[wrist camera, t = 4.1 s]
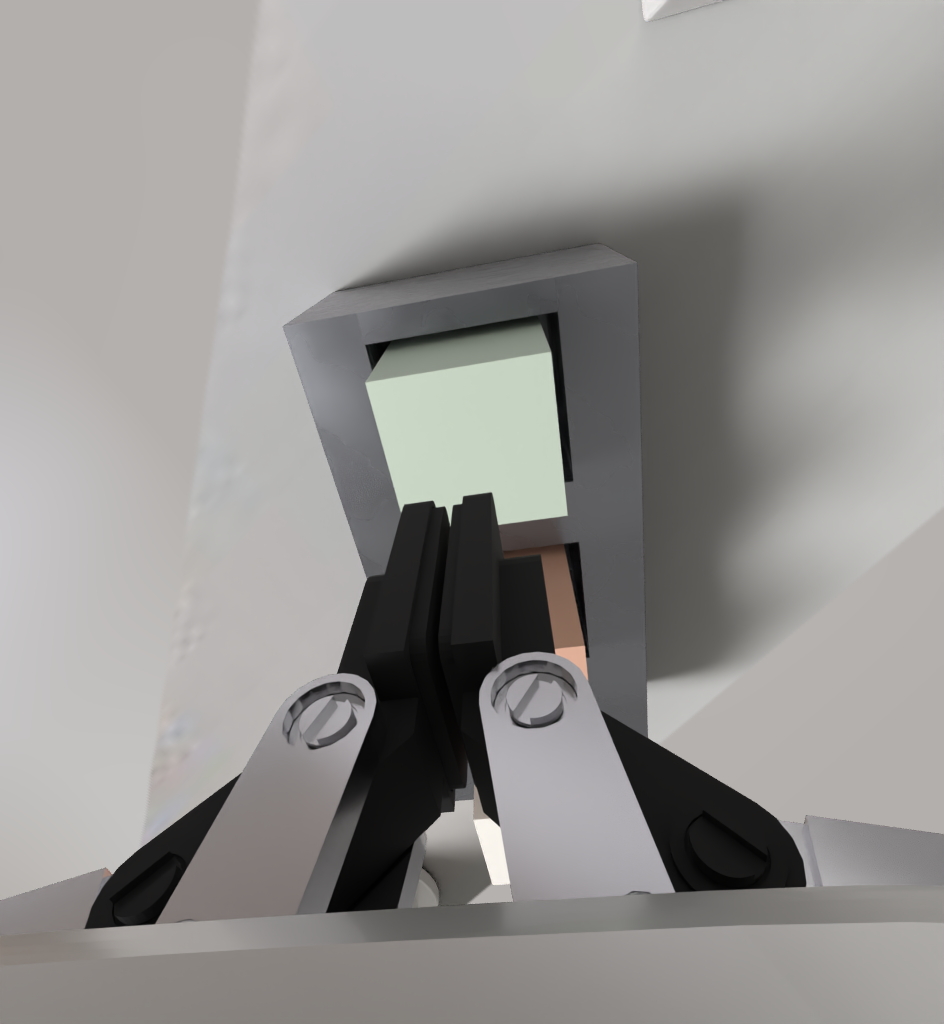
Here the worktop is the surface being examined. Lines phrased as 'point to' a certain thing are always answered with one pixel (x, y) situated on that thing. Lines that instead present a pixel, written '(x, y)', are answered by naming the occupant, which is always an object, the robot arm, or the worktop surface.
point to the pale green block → (472, 419)
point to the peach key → (559, 602)
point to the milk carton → (670, 7)
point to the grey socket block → (581, 418)
